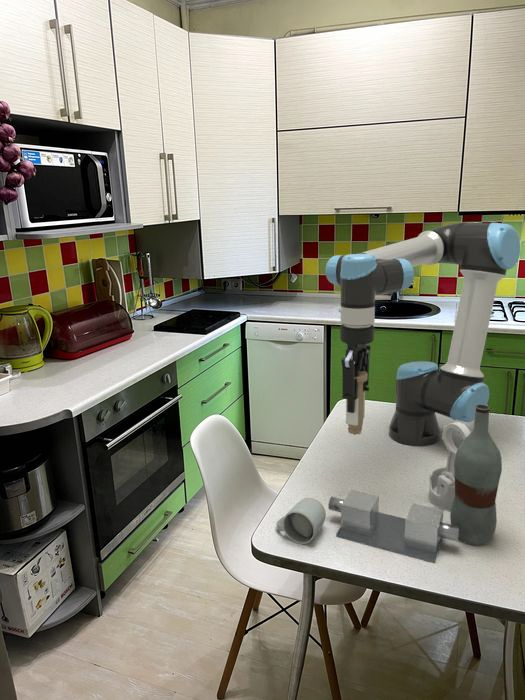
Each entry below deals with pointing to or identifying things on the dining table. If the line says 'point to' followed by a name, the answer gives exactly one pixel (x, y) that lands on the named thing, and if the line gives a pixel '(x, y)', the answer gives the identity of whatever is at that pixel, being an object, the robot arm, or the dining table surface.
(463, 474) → the bottle
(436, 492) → the engine component
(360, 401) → the handle
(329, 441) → the dining table surface
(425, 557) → the shaft bed
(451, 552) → the dining table surface
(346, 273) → the robot arm
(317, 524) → the ceramic mug
